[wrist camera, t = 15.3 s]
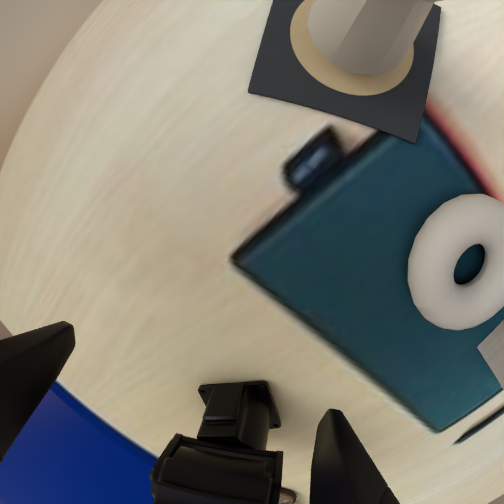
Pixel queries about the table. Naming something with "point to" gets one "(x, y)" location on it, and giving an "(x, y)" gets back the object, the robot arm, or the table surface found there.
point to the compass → (286, 497)
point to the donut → (446, 256)
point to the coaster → (343, 74)
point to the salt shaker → (366, 32)
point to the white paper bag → (494, 352)
